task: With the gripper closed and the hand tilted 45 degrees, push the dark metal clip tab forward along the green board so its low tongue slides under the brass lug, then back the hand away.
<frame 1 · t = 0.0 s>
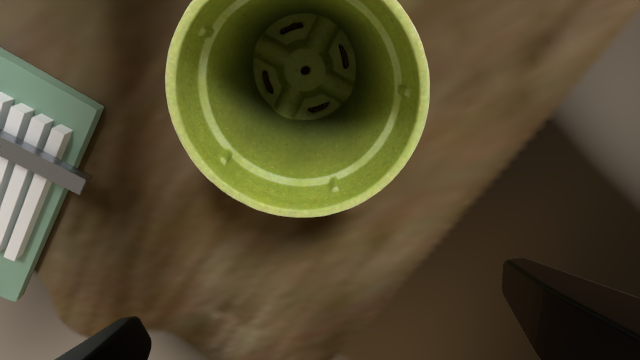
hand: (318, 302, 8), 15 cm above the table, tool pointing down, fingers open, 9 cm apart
plant pot: (303, 69, 20), on the table
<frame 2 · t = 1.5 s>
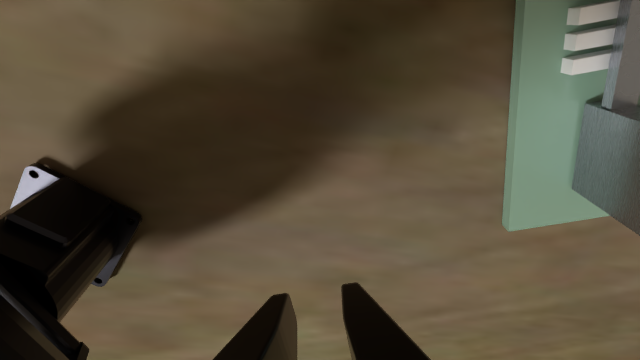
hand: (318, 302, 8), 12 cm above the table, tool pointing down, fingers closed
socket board: (633, 130, 19), on the table
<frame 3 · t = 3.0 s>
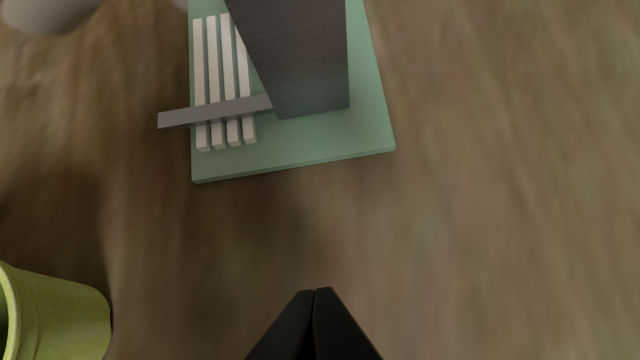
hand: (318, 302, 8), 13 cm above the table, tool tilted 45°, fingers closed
plant pot: (72, 331, 23), on the table
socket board: (309, 77, 26), on the table
retention clip: (221, 11, 19), point 7 cm above the table, slide at 0.0 cm
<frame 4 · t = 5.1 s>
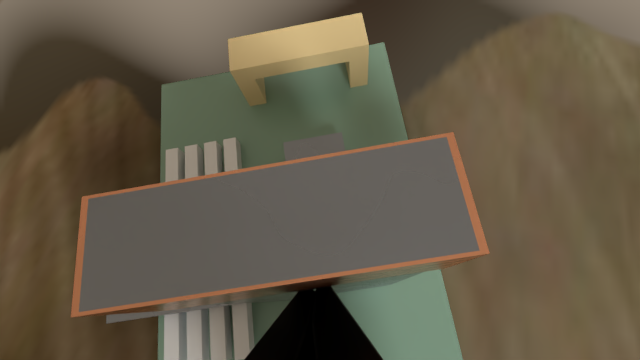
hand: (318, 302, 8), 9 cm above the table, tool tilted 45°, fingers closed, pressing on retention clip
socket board: (330, 237, 18), on the table
retention clip: (194, 194, 12), point 8 cm above the table, slide at 0.9 cm, touching gripper
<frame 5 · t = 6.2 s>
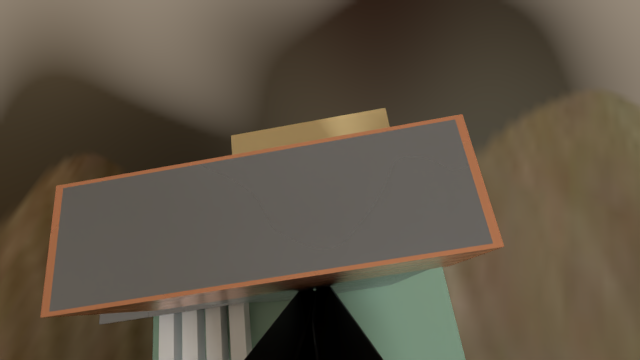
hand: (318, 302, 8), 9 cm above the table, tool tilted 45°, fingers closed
retention clip: (188, 190, 11), point 8 cm above the table, slide at 6.7 cm, touching gripper
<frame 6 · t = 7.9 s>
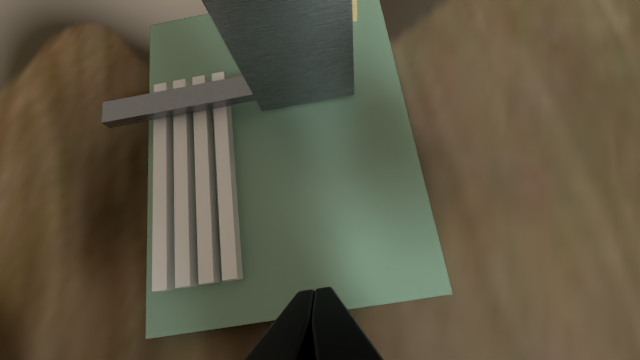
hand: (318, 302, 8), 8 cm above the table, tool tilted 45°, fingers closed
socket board: (319, 169, 18), on the table
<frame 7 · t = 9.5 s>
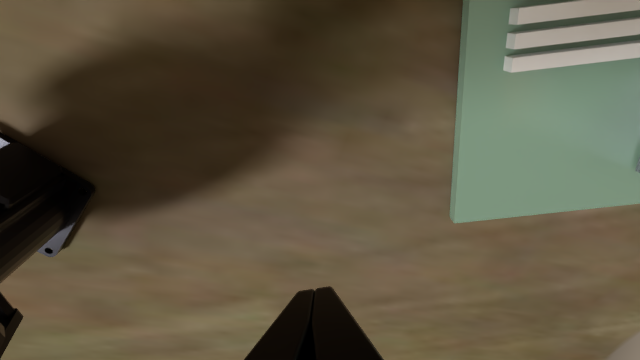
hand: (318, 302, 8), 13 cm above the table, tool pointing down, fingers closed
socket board: (573, 132, 20), on the table
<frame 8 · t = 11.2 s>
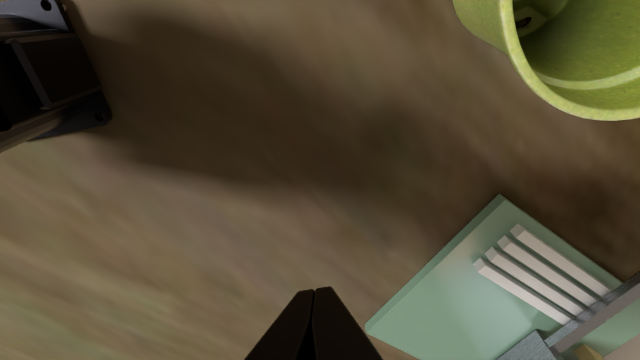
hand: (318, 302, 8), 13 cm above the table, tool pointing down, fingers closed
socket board: (474, 321, 27), on the table
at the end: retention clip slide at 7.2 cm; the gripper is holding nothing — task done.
